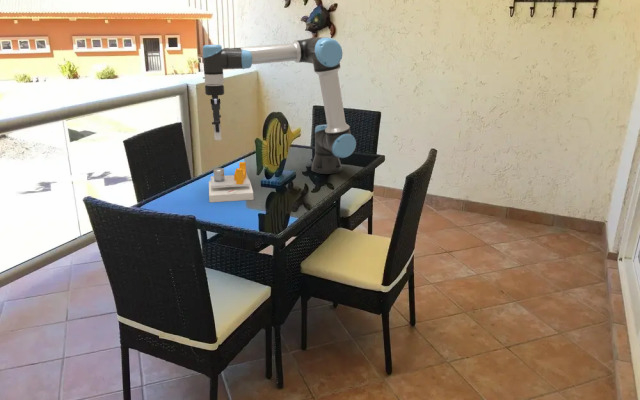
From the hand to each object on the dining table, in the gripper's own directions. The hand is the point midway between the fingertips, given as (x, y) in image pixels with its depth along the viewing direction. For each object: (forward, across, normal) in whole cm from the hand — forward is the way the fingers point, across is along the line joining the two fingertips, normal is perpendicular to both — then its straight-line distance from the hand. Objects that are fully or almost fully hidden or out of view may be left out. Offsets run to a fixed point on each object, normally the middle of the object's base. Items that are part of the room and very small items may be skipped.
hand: (217, 136), depth 206 cm
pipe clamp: (+19, +1, +8) cm, 21 cm away
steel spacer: (+19, 0, 0) cm, 19 cm away
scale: (+25, +2, +4) cm, 25 cm away
